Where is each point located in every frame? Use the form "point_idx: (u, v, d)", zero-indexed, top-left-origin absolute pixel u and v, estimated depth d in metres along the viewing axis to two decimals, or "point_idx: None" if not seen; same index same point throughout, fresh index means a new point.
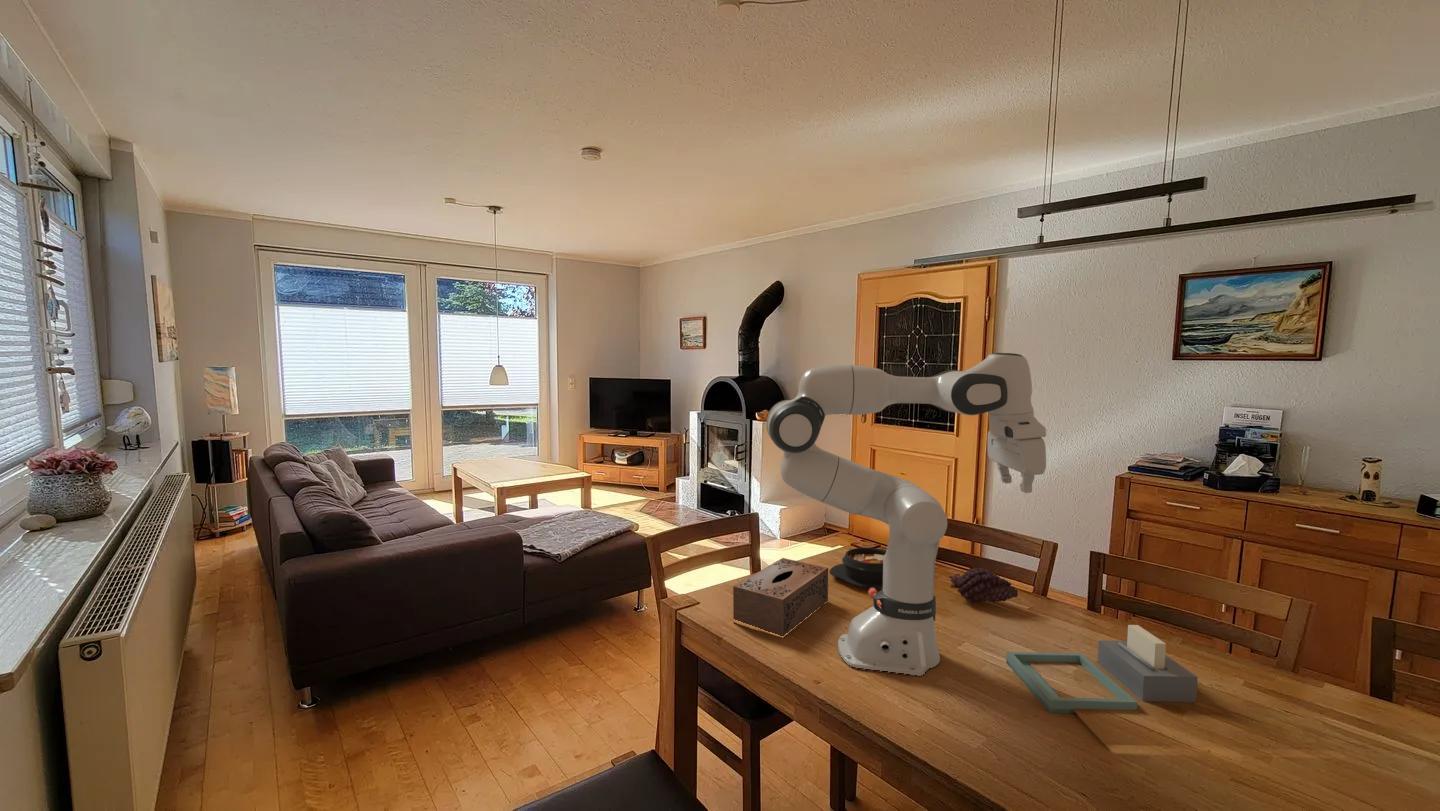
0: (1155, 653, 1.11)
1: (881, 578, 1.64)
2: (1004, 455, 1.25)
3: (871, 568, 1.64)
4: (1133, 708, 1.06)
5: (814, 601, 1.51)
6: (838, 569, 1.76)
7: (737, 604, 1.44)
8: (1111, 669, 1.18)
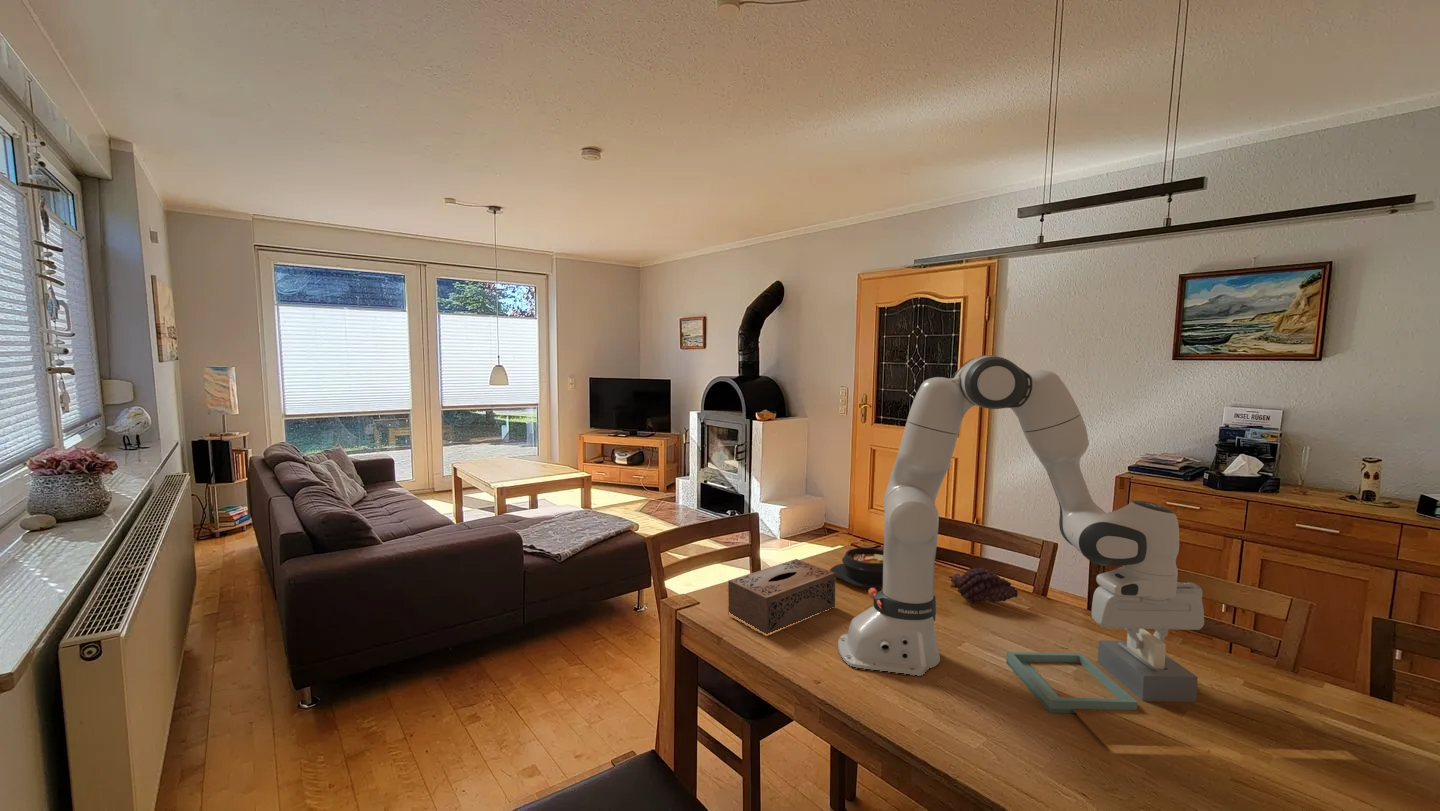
0: (1155, 653, 1.11)
1: (881, 578, 1.64)
2: None
3: (871, 568, 1.64)
4: (1133, 708, 1.06)
5: (814, 604, 1.48)
6: (838, 569, 1.76)
7: (731, 599, 1.48)
8: (1111, 669, 1.18)
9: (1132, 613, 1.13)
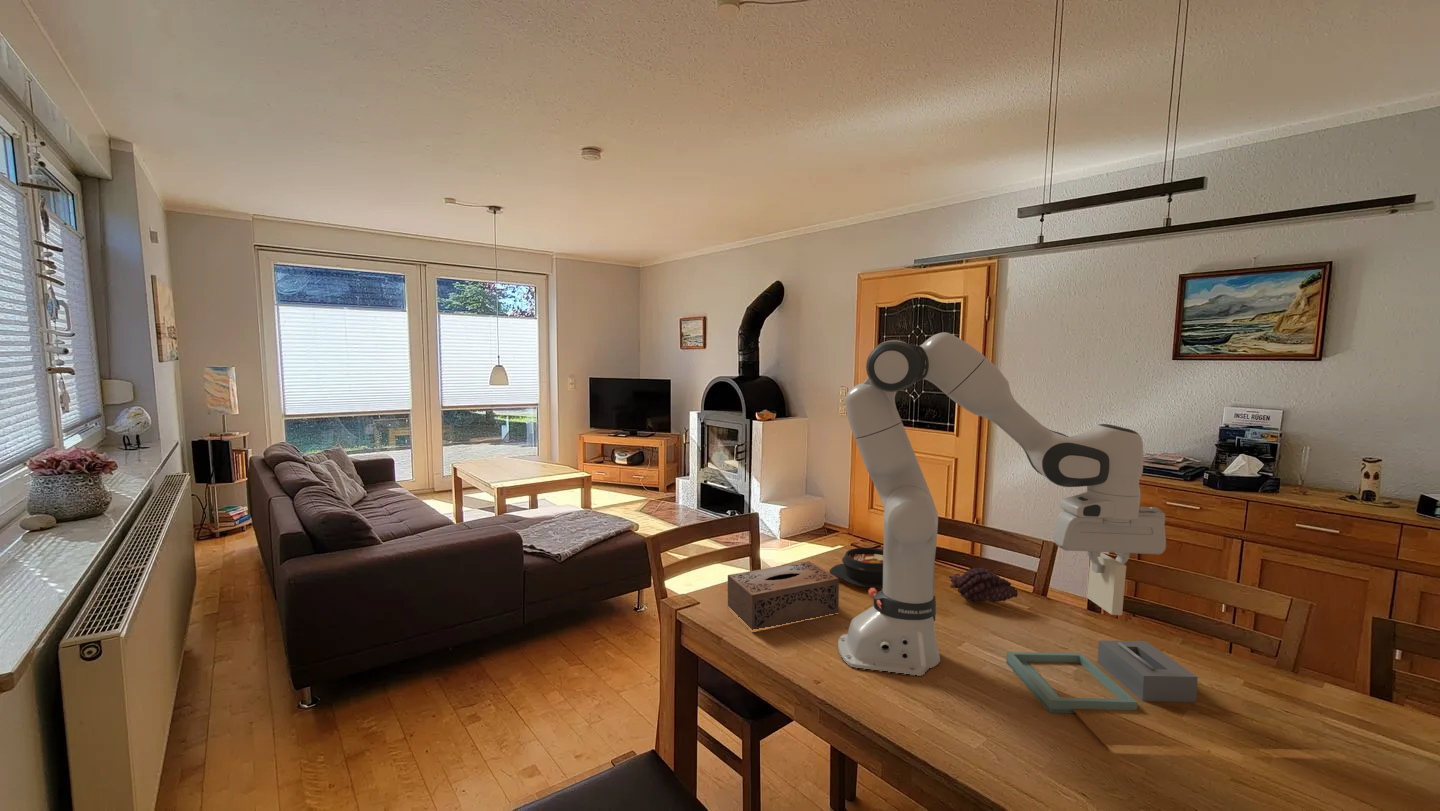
0: (1115, 575, 1.10)
1: (881, 578, 1.64)
2: None
3: (871, 568, 1.64)
4: (1133, 708, 1.06)
5: (811, 607, 1.46)
6: (838, 569, 1.76)
7: (729, 593, 1.51)
8: (1111, 669, 1.18)
9: (1093, 535, 1.12)
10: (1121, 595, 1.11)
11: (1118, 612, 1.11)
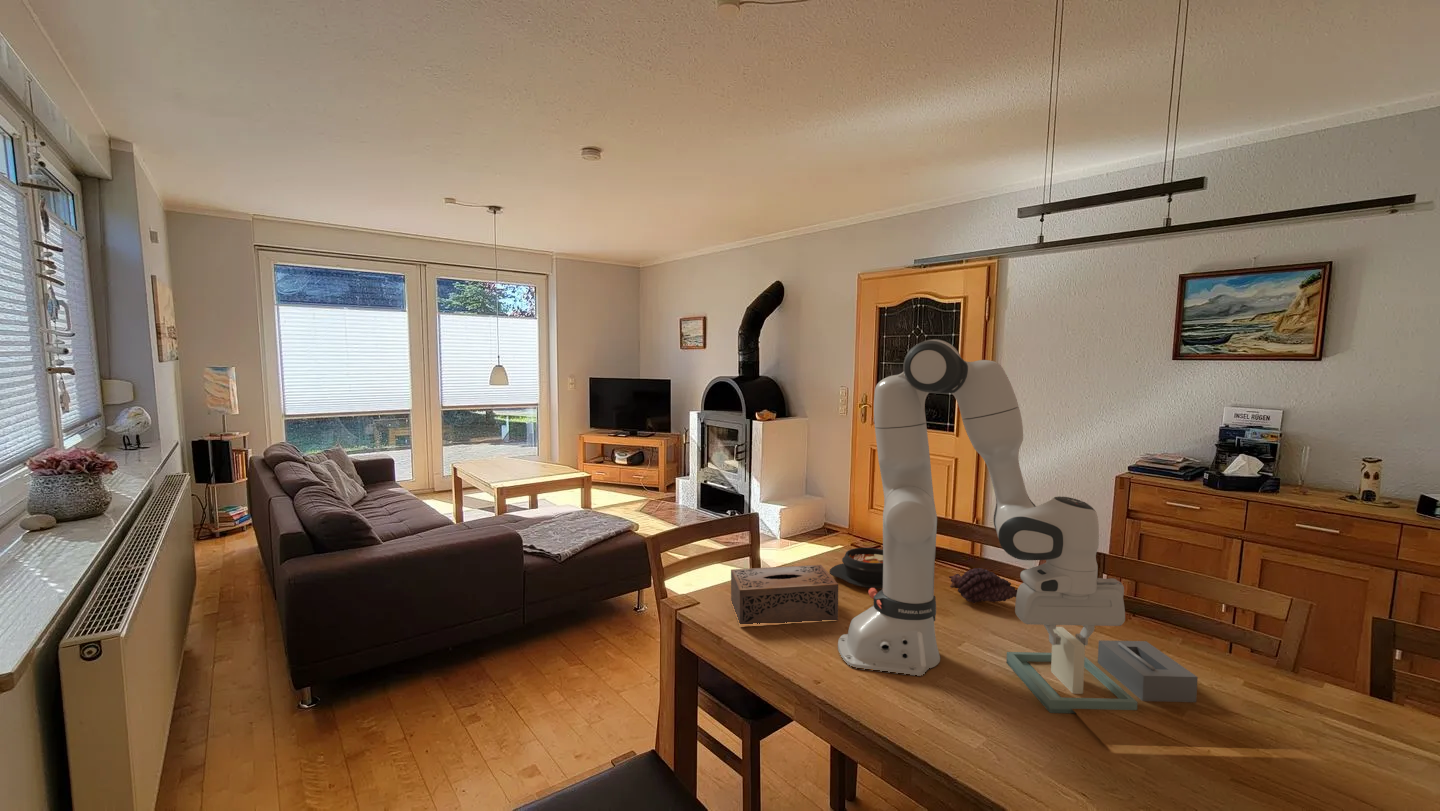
0: (1075, 655, 1.11)
1: (881, 578, 1.64)
2: None
3: (871, 568, 1.64)
4: (1133, 708, 1.06)
5: (806, 610, 1.45)
6: (838, 569, 1.76)
7: (732, 587, 1.55)
8: (1111, 669, 1.18)
9: (1053, 609, 1.13)
10: (1081, 675, 1.11)
11: (1079, 691, 1.12)
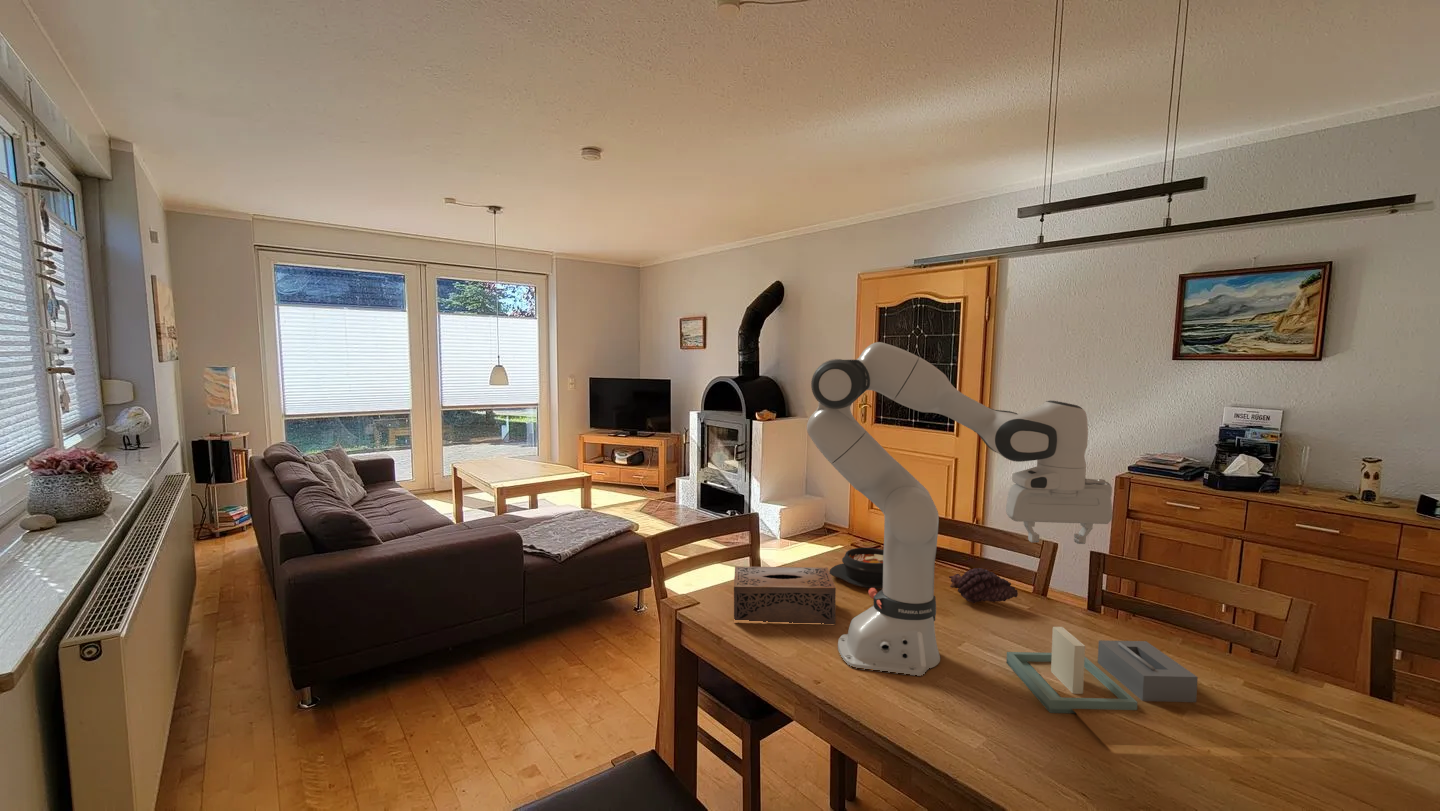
0: (1075, 655, 1.11)
1: (881, 578, 1.64)
2: None
3: (871, 568, 1.64)
4: (1133, 708, 1.06)
5: (802, 612, 1.44)
6: (838, 569, 1.76)
7: None
8: (1111, 669, 1.18)
9: (1042, 507, 1.18)
10: (1081, 675, 1.11)
11: (1079, 691, 1.12)
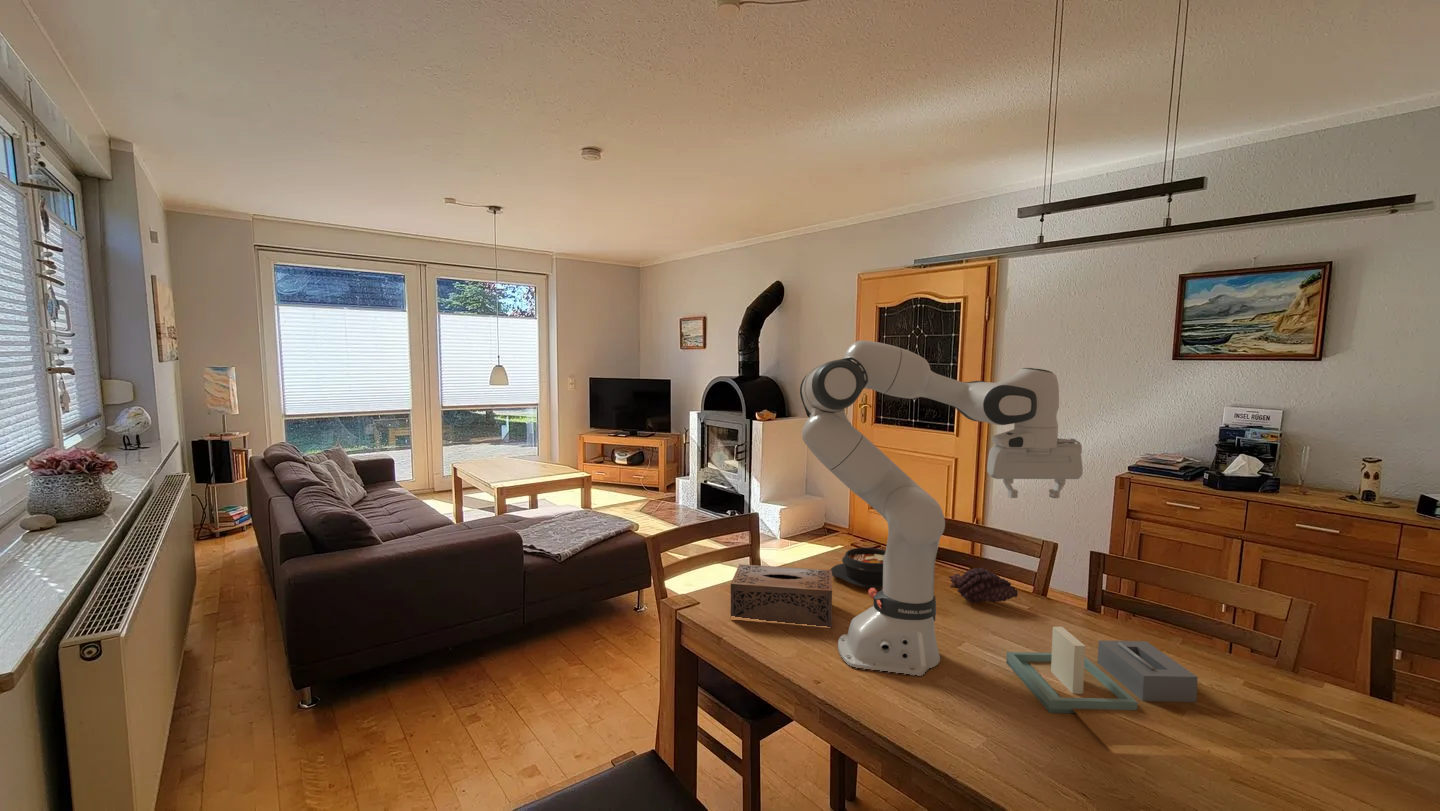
0: (1075, 655, 1.11)
1: (881, 578, 1.64)
2: None
3: (871, 568, 1.64)
4: (1133, 708, 1.06)
5: (797, 613, 1.43)
6: (838, 569, 1.76)
7: None
8: (1111, 669, 1.18)
9: (1019, 464, 1.29)
10: (1081, 675, 1.11)
11: (1079, 691, 1.12)
